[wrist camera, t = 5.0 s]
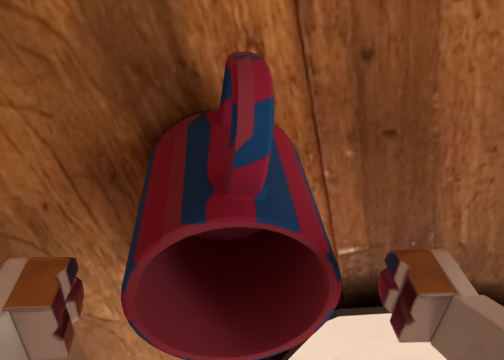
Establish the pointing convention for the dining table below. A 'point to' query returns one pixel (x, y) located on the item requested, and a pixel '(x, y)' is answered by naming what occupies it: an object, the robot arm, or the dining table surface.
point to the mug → (229, 234)
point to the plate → (360, 339)
